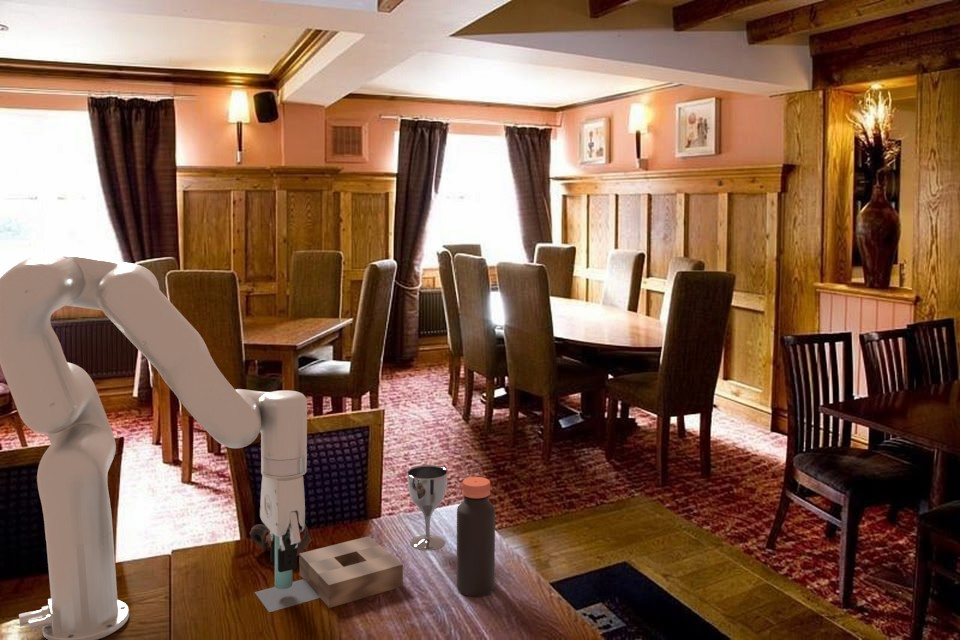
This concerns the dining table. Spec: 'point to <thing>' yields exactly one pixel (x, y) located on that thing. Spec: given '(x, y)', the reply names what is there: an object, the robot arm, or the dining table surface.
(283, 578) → the peg
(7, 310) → the robot arm
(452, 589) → the dining table surface
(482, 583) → the bottle
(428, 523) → the wine glass
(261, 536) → the brown hollow rounded piece
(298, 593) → the mat
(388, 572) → the hole block
